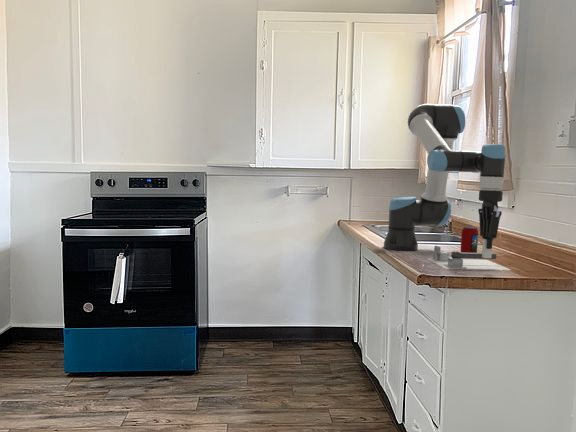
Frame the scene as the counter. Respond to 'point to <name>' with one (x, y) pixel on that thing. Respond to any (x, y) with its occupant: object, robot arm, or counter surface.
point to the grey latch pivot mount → (455, 263)
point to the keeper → (440, 254)
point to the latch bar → (470, 255)
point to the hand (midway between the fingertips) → (486, 257)
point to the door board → (473, 264)
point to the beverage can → (469, 239)
